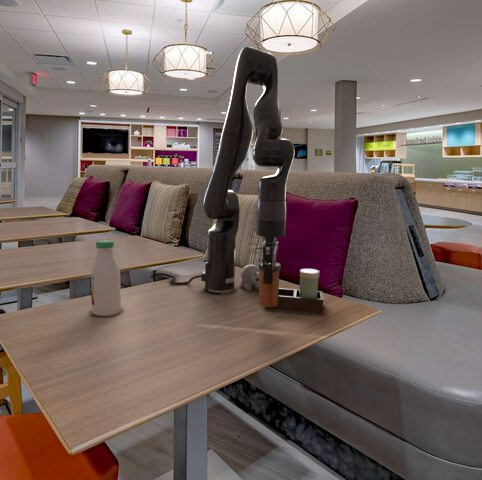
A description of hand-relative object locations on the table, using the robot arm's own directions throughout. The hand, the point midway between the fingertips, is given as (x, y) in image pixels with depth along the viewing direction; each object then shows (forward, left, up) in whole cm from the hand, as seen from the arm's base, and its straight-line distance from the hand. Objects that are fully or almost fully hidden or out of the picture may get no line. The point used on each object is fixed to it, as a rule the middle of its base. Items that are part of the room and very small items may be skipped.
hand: (269, 280), depth 111 cm
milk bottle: (-44, -5, -11) cm, 46 cm away
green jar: (+10, +12, -11) cm, 19 cm away
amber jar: (0, 0, -7) cm, 7 cm away
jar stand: (+7, +12, -11) cm, 18 cm away
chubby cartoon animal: (-7, +26, -11) cm, 29 cm away
